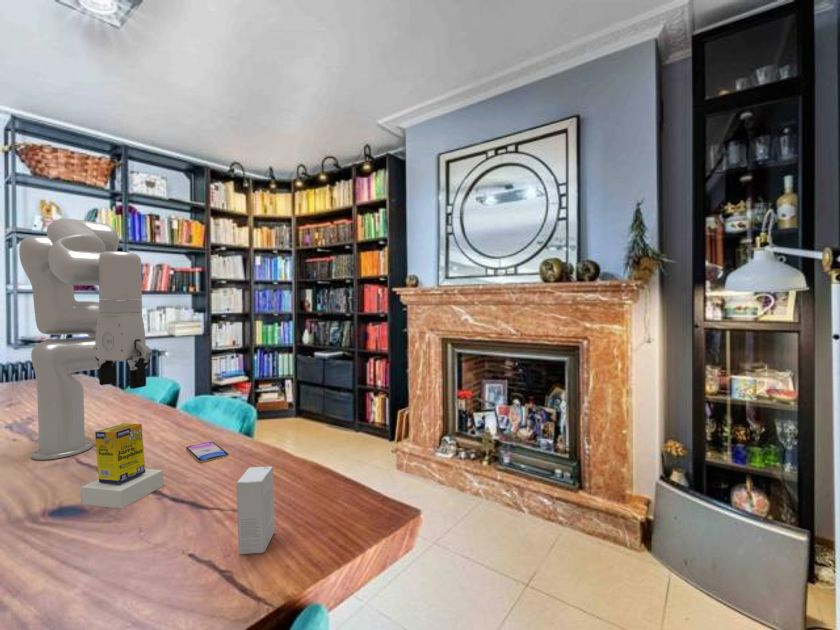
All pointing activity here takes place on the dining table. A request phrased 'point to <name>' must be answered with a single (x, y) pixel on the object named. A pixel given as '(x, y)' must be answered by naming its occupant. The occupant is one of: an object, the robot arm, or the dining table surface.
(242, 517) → the skincare box
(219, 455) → the smartphone
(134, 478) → the white square block
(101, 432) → the supplement box
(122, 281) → the robot arm
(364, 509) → the dining table surface
